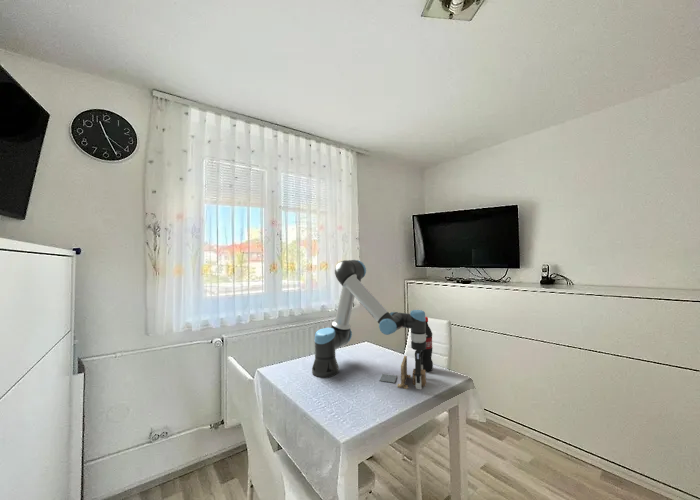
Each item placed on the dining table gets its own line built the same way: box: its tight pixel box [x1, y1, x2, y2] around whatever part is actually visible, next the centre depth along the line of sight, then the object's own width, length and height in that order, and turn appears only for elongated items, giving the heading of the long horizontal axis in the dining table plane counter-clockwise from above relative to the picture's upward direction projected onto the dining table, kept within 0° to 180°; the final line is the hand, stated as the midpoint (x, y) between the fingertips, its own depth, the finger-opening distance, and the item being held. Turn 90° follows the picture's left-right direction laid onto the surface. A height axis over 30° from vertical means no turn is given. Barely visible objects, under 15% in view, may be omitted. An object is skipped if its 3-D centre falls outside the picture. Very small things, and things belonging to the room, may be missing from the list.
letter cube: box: [412, 368, 427, 387], centre depth 140 cm, size 6×6×6 cm
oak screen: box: [397, 355, 412, 390], centre depth 142 cm, size 5×14×11 cm, turn 162°
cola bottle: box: [422, 316, 434, 372], centre depth 157 cm, size 8×8×30 cm
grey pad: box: [379, 373, 398, 384], centre depth 145 cm, size 8×8×1 cm
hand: (419, 382), depth 140 cm, fingers open, 13 cm apart
